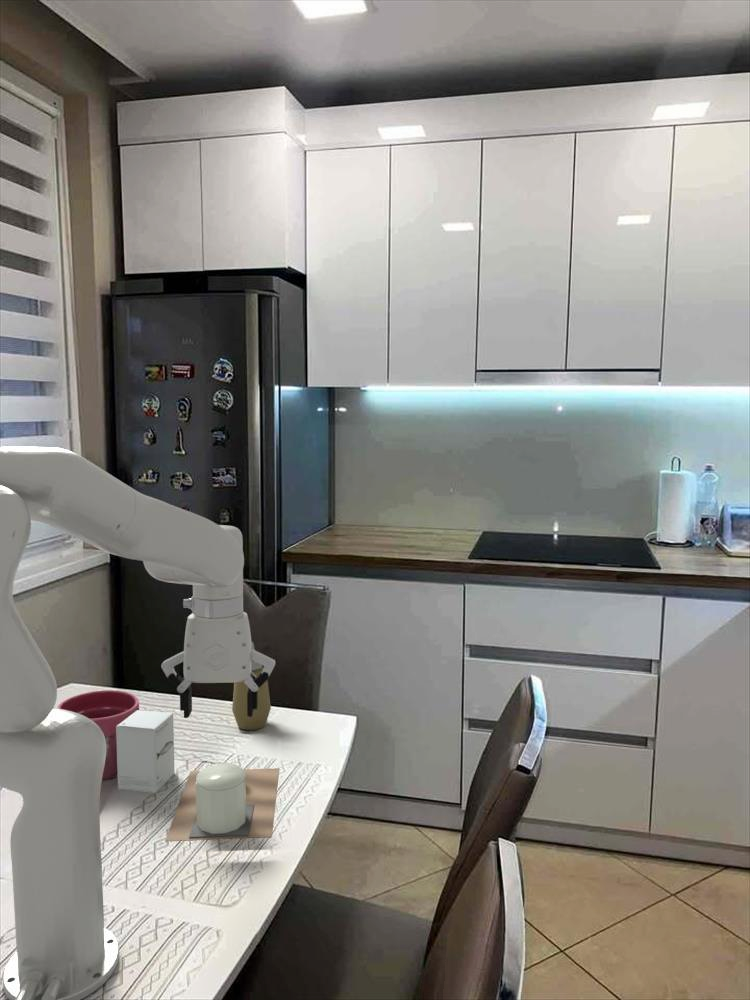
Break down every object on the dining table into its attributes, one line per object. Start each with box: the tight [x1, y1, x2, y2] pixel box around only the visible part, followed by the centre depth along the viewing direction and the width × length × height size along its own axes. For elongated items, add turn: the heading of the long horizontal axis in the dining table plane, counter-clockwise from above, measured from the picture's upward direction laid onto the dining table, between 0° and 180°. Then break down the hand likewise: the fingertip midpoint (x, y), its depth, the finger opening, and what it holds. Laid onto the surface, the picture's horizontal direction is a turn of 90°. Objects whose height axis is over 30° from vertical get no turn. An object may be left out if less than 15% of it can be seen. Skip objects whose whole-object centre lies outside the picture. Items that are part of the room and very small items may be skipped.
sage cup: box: [196, 763, 246, 834], centre depth 116 cm, size 8×8×8 cm
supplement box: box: [116, 709, 175, 794], centre depth 129 cm, size 7×7×13 cm
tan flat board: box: [165, 767, 280, 842], centre depth 123 cm, size 22×16×1 cm
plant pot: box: [56, 689, 140, 782], centre depth 135 cm, size 14×14×13 cm
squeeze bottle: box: [231, 641, 272, 731], centre depth 155 cm, size 8×8×18 cm
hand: (219, 714), depth 114 cm, fingers open, 9 cm apart
